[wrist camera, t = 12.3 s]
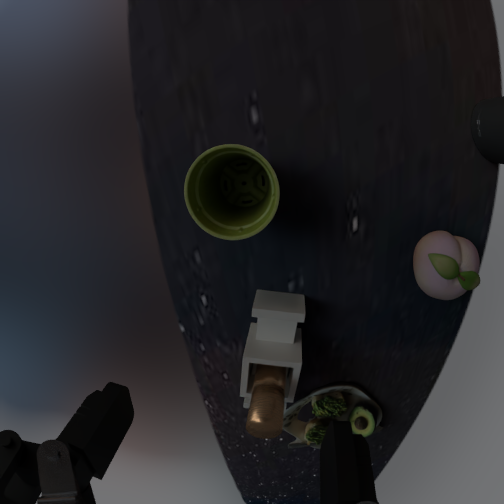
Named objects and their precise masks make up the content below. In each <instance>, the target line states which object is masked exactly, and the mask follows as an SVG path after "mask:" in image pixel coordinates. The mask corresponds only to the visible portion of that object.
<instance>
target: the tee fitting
mask: <svg viewBox="0 0 504 504" xmlns="http://www.w3.org/2000/svg"><path fill="white" fill-rule="evenodd" d="M252 317H258V322H257V323H251V325H250V330H249V334H248V338H247V342H246V346H245V351H244V355H243V363H242V376H241V388H240V396H241V397H245V399H244V406H243V407H244V408H249V407H250V401H251V395H252V390H253V384H254V378H255V373H256V367H257V364H265V365H274V366H283V367H286V383H285V401H284V412H285V411H286V403H287V402H292V403H293V400H294V396H295V392H296V387H297V383H298V379H299V375H300V370H301V366H302V339H301V328H296V327H297V322H303V323H304V319H305V299H304V295H301V294H292V293H283V292H274V291H266V290H258V289H257V292H256V296H255V300H254V304H253V308H252Z"/></svg>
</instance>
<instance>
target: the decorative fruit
mask: <svg viewBox="0 0 504 504" xmlns="http://www.w3.org/2000/svg"><path fill="white" fill-rule="evenodd" d="M479 263H480V261H479V254H478V251H477V249H476V247H475V246H474V245H473V243H472V242H470V241H469V240H467V239H465V238H462V237H459V236H452V235H451V234H450V233H448V232H446V231H434V232H431V233H429V234H427V235H425V236H424V237H423V238H422V239H421V240H420V241H419V242H418V244H417V246H416V248H415V251H414V257H413V267H414V274H415V278H416V281H417V283H418V285H419V287H420V288H421V289H422V290H423V291H424V292H425V293H426V294H427V295H429V296H431V297H434V298H437V299H442V300H451V299H455V298H457V297H459V296H461V295H462V294H464V293H465V292H466V291H467V290H472V289H475V288H476V287H477V286H478V285H479V284H480V277H479V275H478V271H479Z"/></svg>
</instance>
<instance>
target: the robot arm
mask: <svg viewBox="0 0 504 504" xmlns="http://www.w3.org/2000/svg"><path fill="white" fill-rule="evenodd" d="M471 130H472V136H473V139H474V142H475V144H476V146H477V148H478V150H479V151H480V153H481V154H482V155H483V156H484V157H485V158H486V159H488V160H489V161H491V162H494V163H500V164H504V96H503V97H496V98H490V99H484V100H482V101H480V102H479V103H478V104H477V105H476V107H475V108H474V111H473V114H472V119H471ZM133 418H134V409H133V405H132V401H131V397H130V393H129V389H128V388H127V387H126V386H122V385H119V384H116V383H113V382H109V383H108V384H107V385H106V386H105V388H104V389H103V391H99V390H96V391H95V392H93V393H92V394H90V395H89V396H87V397H86V399H85V400H84V402H83V403H82V404H81V407H79V408H78V410H77V411H76V413H75V414H74V415H73V417H72V418H71V420H70V421H69V422H68V424H67V425H66V427H65V428H64V430H63V431H62V432H61V434H60V435H59V436H58V438H57V439H56V440H48V441H45V442H43V443H42V444H36V443H32V442H27V441H23V440H22V439H21V438H20V437H19V435H18V434H17V433H16V432H14V431H12V430H4V431H1V432H0V504H35V503H36V501H37V500H38V501H37V503H38V504H96V502H95V498H94V495H93V492H92V488H91V484H90V480H91V479H92V477H96V478H98V479H100V480H102V478H103V476H104V474H105V472H106V470H107V468H108V467H109V464H110V462H111V461H112V459H113V457H114V455H115V453H116V452H117V450H118V448H119V446H120V444H121V442H122V440H123V439H124V437H125V435H126V433H127V431H128V429H129V427H130V426H131V424H132V421H133ZM41 492H42V496H41V497H39V495H40V494H41ZM320 504H379V503H378V501H377V498H376V491H375V484H374V477H373V470H372V466H371V457H370V451H369V445H368V443H367V441H366V440H365V438H364V437H363V435H362V434H353V432H352V425H351V422H350V421H330V423H329V425H328V428H327V430H326V433H325V435H324V438H323V440H322V443H321V447H320Z"/></svg>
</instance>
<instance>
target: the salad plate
mask: <svg viewBox="0 0 504 504" xmlns="http://www.w3.org/2000/svg"><path fill="white" fill-rule="evenodd" d="M311 400H312V407H313V411H312V413H315V416H314V418H313V419H309V421H308V422H302V421H300V420H298V419H297V415H298V413H299V411H300V409H301V408H302V407H303V406H304V405H305V404H307V403H308V402H309V401H311ZM381 419H382V409H381V408H380V406H379V405H378V404H377V403H376V401H375V400H374V399H373V398H372V397H371V396H370V395H369V394H368V393H367V392H366V391H365V390H364V389H363V388H361V387H359V386H358V385H356V384H353V383H345V382H340V383H332V384H328V385H325V386H323V387H320V388H317V389H315V390H314V391H312V392H311V393H310V394H309V395H307V396H306V397H304V398H302V399H300V400H299V401H297V402H296V403H294V404H293V405H292V406H290V407H289V408H288V409H286V411H285V412H284V417H283V429H284V430H285V431H287V432H289V433H290V434H292V435H293V436H295V437H296V438H297V439H296V440H295V441H294V442H292V443H289V444H288V447H289V448H300V447H307V446H311V447H314V448H319V449H320V447H321V443H322V440H323V438H324V435H325V433H326V430H327V428H328V425H329V423H330V421H350V422H351V425H352V432H353V434H362V435H363V437H367V436H369V435H371V434H374V433H377V432H379V431H381V430H382V429H383V427H381V426H379V423H380V421H381Z"/></svg>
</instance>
